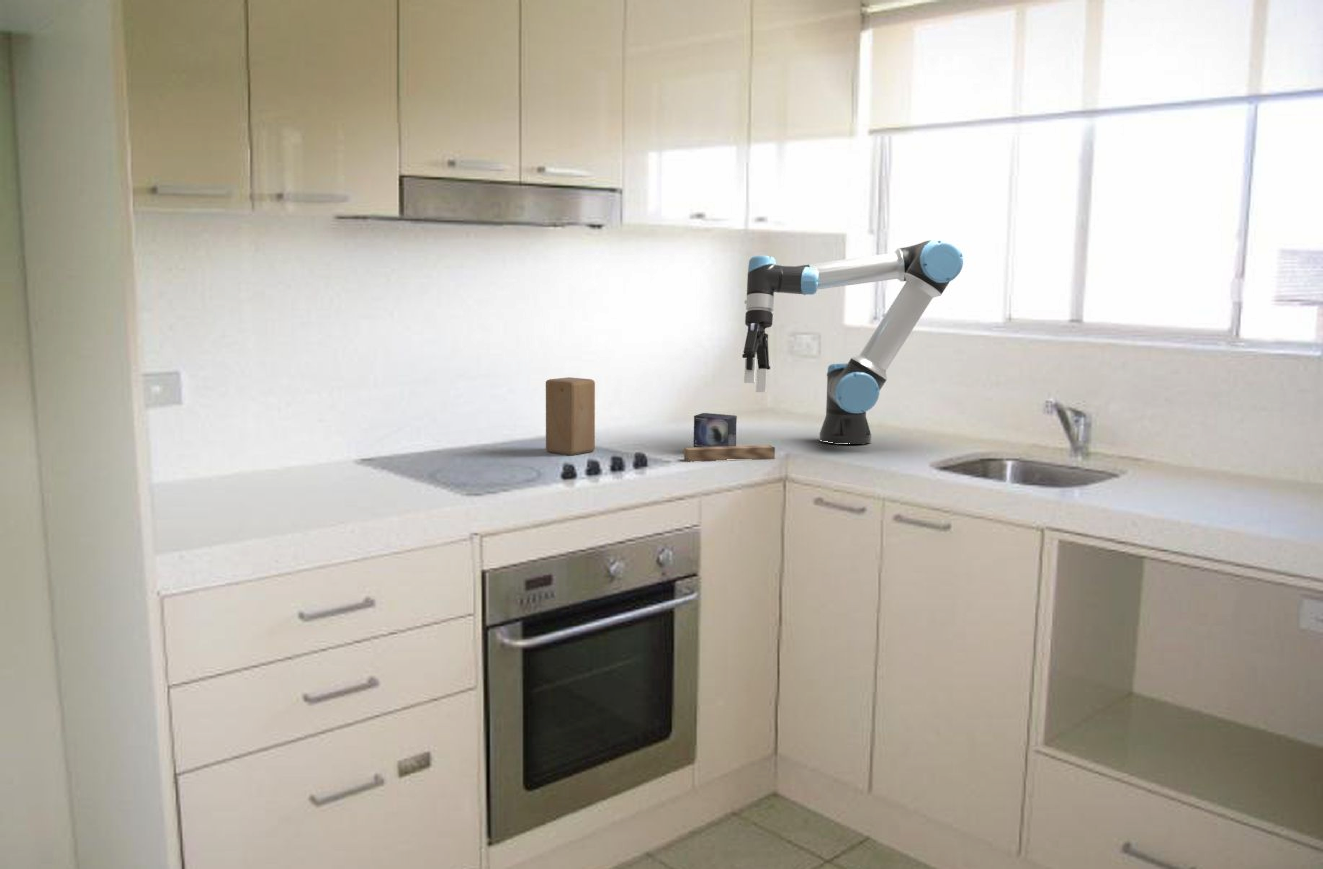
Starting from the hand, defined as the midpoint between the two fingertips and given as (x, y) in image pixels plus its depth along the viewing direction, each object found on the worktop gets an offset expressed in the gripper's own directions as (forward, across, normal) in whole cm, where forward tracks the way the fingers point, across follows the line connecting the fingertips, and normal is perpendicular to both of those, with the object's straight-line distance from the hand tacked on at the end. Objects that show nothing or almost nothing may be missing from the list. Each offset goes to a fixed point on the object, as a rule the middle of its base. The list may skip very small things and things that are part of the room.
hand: (755, 387), depth 303 cm
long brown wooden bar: (+21, +8, -4) cm, 23 cm away
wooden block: (+21, +14, -48) cm, 54 cm away
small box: (+18, 0, -11) cm, 21 cm away
